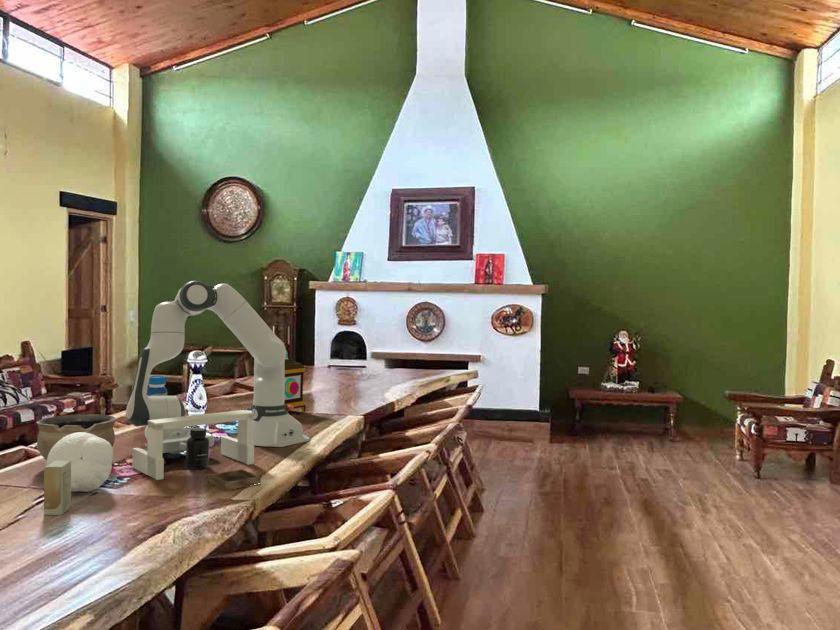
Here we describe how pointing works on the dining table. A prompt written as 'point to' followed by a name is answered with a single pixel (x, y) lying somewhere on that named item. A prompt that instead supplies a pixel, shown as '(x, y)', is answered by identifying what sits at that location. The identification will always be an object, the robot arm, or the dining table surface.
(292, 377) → the decorative lantern
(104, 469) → the decorative orb
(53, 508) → the skincare box
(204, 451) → the supplement bottle
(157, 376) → the beverage bottle
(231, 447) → the arch lane
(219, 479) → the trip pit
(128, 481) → the dining table surface
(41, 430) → the ceramic bowl
